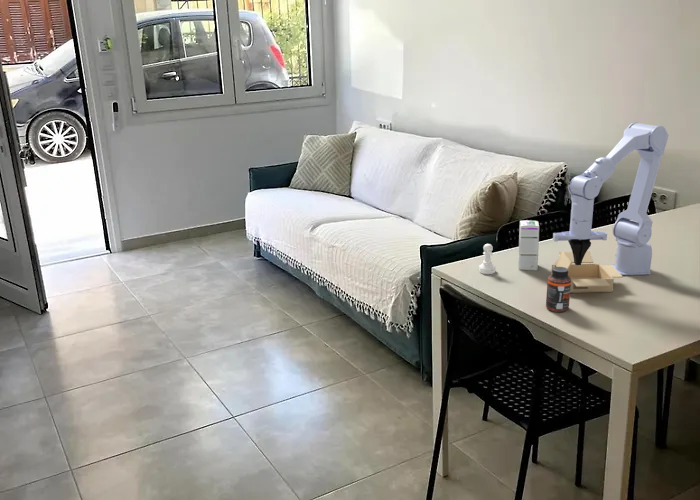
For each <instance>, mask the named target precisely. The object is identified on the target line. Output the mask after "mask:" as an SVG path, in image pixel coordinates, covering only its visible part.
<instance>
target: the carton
mask: <svg viewBox="0 0 700 500" xmlns="http://www.w3.org/2000/svg"><path fill="white" fill-rule="evenodd" d="M554 267H557V266H556V265H555V264H551V271H550V273H551V274H552V269H553V268H554ZM551 274H550V275H551ZM568 276H569V277H570V278H571V289H570V294H583V293H584V294H585V293H586V294H589V293H591V294H592V293H613V290H614V280H615V279H616V278H617V279H618V278H624V277H623V276H624V275H621V274H620V273H619V272H618V271H617V270H616V269H615V268H614V267H613V266H612V265H611V264H608V265H607V264H606V265H604V264H603V265H601V264H600V263H581V265H576V264H575V263H572V264H571V266H570V267H569V269H568Z"/></svg>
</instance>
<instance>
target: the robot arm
mask: <svg viewBox="0 0 700 500" xmlns="http://www.w3.org/2000/svg"><path fill="white" fill-rule="evenodd" d="M668 140H669V133H668V132H667V130H666V128H665V126H663V125H655V124H654V125H653V124H646V123H645V124H644V123H641V122H640V123H639V122H632V123H630V124H629V125H628V126H627V128H625V129H624V130H623V135H622V138H621V139H620V140H619V141H618V143H617V144H616V145H615V146H614V147H612V149H611V150H610V152H609V153H608V154H607V155H606V156H605V157H602V156H601V157H599V158H596V159H595V160H594V162H593V163H592V164H591V165H590V166H589V167H588V168H587V169H586V170H585V171H584V172H583V173H581V174H580V175H576V176H574V177H573V178H571V180H570V182H569V185H568V186H567V189H568V193H569V194H570V200H571V209H570V221H569V222H570V223H569V231H561V232H553V233H552V240H553V242H556V243H557V242H559V241H560V242H561V241H568V244H569V245H570V249H571V252H573V257H574V263H573V264H576V265H581V264H583V263H582V260H583V257H584V255H585V253H586V252H587V251H588V250H589V249H590V247H591V245H592V242H591V241H599V240H600V241H601V240H602V241H607V240H608V233H607V232H606V231H594V230H593V231H592V225H593V215H594V214H593V212H594V202H595V198H596V197H598V195H599V193H600V191H601V188H602V187H603V184H604V183H605V182H606V181H607V180H608V179H609V178H610V177H611V176H612V175H613V174H614V173H615V172H616V166H617V164H619V163H620V162H621V161H622V160H623V159H625V158H626V157H627V156H629V154H630V153H632V152H633V151H635V150H636V152H637V153H638V154H639V156H640V161H639V165H638V168H637V172H636V176H635V179H634V183H633V187H632V190H631V194H630V196H629V202H628V204H627V209H626V210H623V211H622V212H621V211H620V213H619V214H618V215H617V219H616V220H615V223H614V224H613V226H612V235H613V236H614V238H615V241H616V242H617V246H616V254H615V263H614V264H610V265H612V266H613V267H614V268H615V269H616V270H617V271H618V272H619V273H620V274H621V275H622V276H636V275H637V276H640V275H641V276H642V275H644V276H645V275H651V274H652V273H651V267H652V266H651V264H652V257H653V249H652V244H650V243H649V242H650V240H651V237H652V227H653V220H652V219H651V217H650V216H649V215H648V213H647V212H648V209H649V204H650V201H651V197H652V193H653V191H654V186H655V184H656V180H657V177H658V176H657V175H658V172H659V169H660V165H661V162H662V158H663V156H664V153H665V149H666V147H667V143H668Z"/></svg>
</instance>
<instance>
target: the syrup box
mask: <svg viewBox="0 0 700 500" xmlns="http://www.w3.org/2000/svg"><path fill="white" fill-rule="evenodd" d="M539 224H540V223H539V221H538V220H532V219H530V220H528V219H526V220H519V230H518V231H519V232H518V233H519V235H518V237H519V238H518V258H517V259H518V260H517V262H518V263H517V264H518V265H517V266H518V270H520V271H538V266H539V265H538V263H539V245H540V244H539V243H540V225H539Z"/></svg>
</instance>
